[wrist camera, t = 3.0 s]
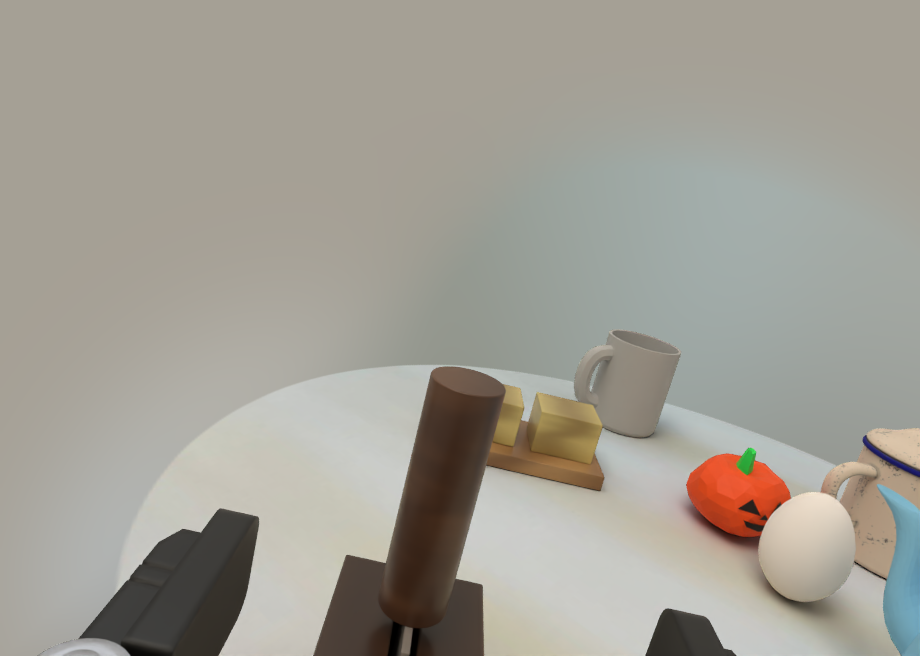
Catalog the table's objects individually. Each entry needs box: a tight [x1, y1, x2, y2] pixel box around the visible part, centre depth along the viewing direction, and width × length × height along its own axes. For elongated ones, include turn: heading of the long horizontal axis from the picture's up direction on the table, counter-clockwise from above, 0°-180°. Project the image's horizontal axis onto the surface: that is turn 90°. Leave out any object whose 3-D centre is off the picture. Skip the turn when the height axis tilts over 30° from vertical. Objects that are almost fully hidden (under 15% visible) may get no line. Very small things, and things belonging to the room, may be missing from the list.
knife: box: [378, 367, 506, 656], centre depth 24 cm, size 3×5×15 cm, turn 179°
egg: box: [758, 492, 856, 602], centre depth 42 cm, size 5×5×7 cm
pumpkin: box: [686, 448, 791, 537], centre depth 50 cm, size 7×8×6 cm
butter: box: [486, 384, 604, 491], centre depth 54 cm, size 13×8×5 cm, turn 89°
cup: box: [574, 330, 681, 438], centre depth 65 cm, size 7×10×9 cm
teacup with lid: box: [821, 428, 920, 579], centre depth 49 cm, size 12×9×12 cm
